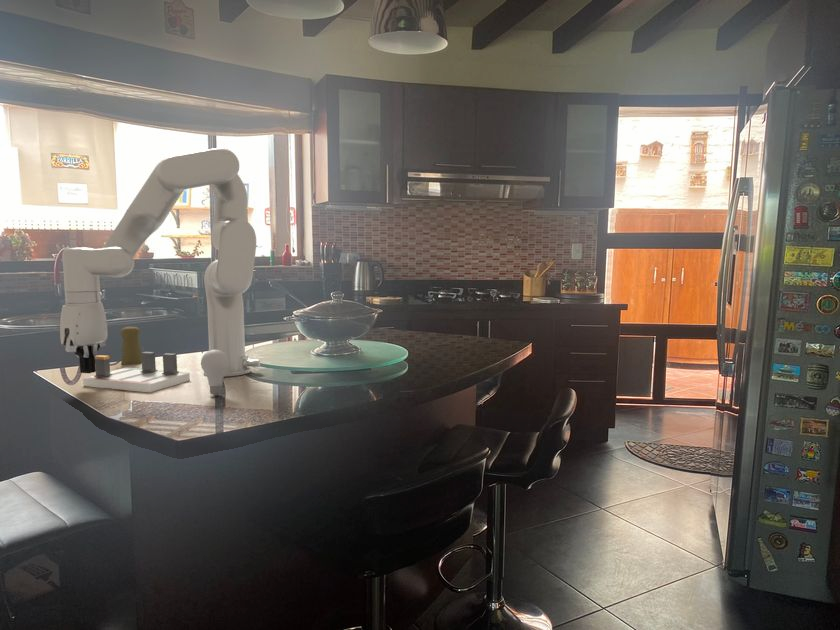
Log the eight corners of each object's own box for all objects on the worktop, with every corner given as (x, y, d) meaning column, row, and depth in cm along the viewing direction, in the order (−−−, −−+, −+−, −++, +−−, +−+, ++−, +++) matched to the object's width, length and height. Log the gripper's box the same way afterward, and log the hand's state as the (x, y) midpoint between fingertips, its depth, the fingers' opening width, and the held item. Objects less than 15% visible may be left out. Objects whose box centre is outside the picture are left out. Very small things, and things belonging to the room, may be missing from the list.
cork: (147, 361, 182) (145, 325, 181) (135, 364, 176) (133, 328, 175) (128, 360, 182) (126, 325, 181) (116, 364, 176) (114, 328, 175)
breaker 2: (170, 371, 155) (169, 352, 155) (179, 372, 154) (178, 353, 154) (161, 374, 152) (160, 354, 152) (170, 374, 151) (169, 355, 151)
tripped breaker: (103, 374, 152) (102, 354, 152) (112, 375, 151) (111, 355, 151) (93, 376, 149) (91, 356, 149) (102, 377, 148) (101, 357, 148)
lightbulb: (214, 400, 135) (212, 352, 133) (196, 396, 138) (194, 350, 137) (235, 394, 140) (233, 349, 139) (218, 391, 143) (216, 346, 142)
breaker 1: (149, 370, 158) (148, 351, 157) (158, 370, 157) (157, 351, 156) (139, 372, 155) (138, 353, 154) (148, 373, 154) (147, 353, 153)
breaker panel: (127, 374, 162) (126, 367, 162) (189, 380, 155) (189, 372, 155) (83, 385, 149) (82, 377, 149) (149, 392, 142) (149, 384, 142)
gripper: (96, 295, 152) (101, 365, 154) (43, 300, 138) (49, 377, 140) (119, 296, 150) (123, 367, 152) (67, 301, 136) (73, 379, 138)
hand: (88, 372), depth 146 cm, fingers closed
